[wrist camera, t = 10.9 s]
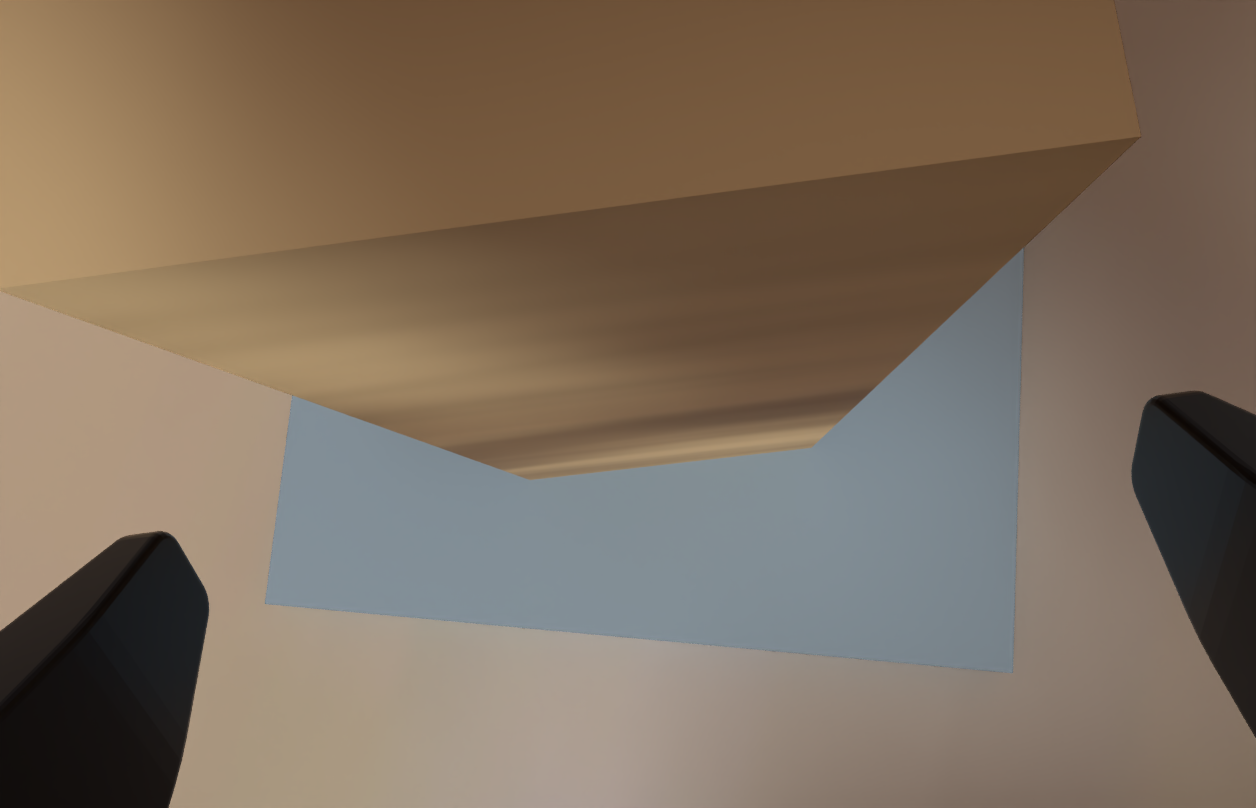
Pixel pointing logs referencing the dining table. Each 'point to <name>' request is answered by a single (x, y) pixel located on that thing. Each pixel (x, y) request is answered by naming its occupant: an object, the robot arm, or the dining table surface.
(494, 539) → the slate pad
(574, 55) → the oak block
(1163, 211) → the dining table surface
